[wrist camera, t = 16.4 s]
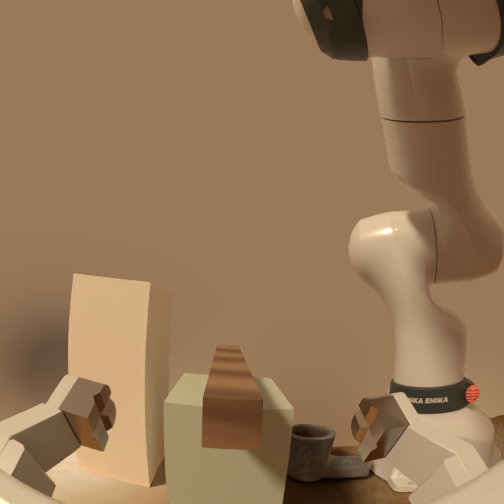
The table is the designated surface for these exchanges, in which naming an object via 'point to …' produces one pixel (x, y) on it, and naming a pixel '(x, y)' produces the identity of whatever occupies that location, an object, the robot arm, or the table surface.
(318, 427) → the pipe
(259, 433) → the walnut bar
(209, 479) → the low stool
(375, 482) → the table surface
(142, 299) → the tall stand
